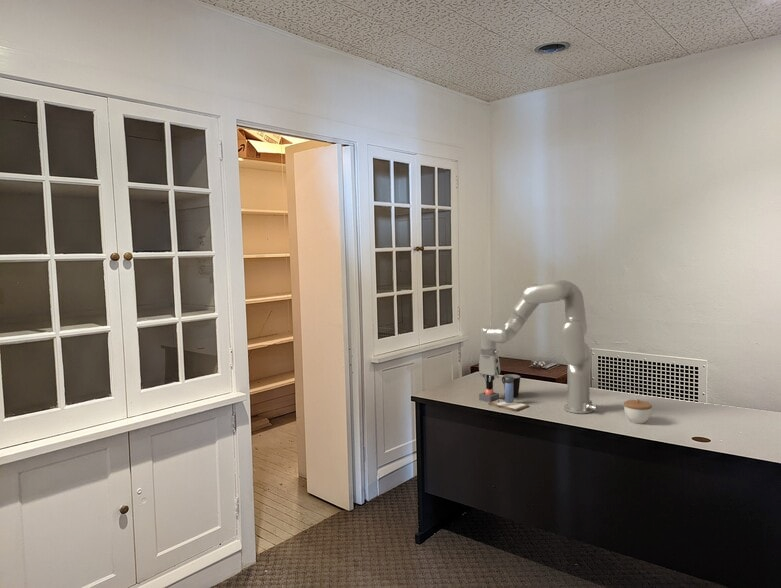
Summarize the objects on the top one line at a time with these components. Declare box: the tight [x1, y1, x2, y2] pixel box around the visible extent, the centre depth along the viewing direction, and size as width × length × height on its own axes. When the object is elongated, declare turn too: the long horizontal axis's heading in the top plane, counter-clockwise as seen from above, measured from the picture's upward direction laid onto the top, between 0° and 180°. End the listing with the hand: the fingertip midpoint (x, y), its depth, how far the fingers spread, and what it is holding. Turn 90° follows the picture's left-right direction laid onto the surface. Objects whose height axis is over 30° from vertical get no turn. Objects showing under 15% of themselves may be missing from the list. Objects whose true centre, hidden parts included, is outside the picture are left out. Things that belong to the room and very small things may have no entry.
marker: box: [504, 376, 514, 403], centre depth 258 cm, size 4×4×12 cm
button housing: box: [478, 391, 500, 403], centre depth 267 cm, size 7×7×3 cm
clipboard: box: [487, 398, 530, 412], centre depth 256 cm, size 16×10×1 cm, turn 41°
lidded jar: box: [623, 398, 653, 425], centre depth 227 cm, size 11×11×9 cm
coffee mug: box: [501, 373, 521, 399], centre depth 273 cm, size 12×9×10 cm
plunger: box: [484, 388, 494, 395], centre depth 266 cm, size 4×4×5 cm
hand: (489, 388), depth 266 cm, fingers closed
